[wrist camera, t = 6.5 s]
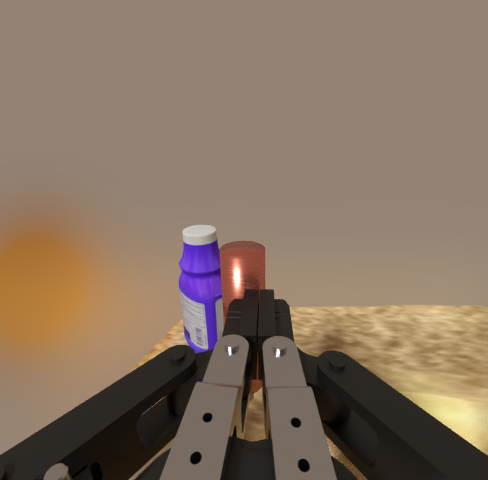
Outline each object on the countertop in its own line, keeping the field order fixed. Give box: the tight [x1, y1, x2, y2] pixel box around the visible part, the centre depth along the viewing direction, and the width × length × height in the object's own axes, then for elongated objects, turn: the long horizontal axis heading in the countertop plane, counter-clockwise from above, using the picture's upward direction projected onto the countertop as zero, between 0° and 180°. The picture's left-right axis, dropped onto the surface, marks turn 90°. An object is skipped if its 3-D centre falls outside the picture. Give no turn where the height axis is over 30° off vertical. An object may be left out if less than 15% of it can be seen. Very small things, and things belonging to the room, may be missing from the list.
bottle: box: [179, 225, 224, 353], centre depth 36 cm, size 7×6×17 cm
